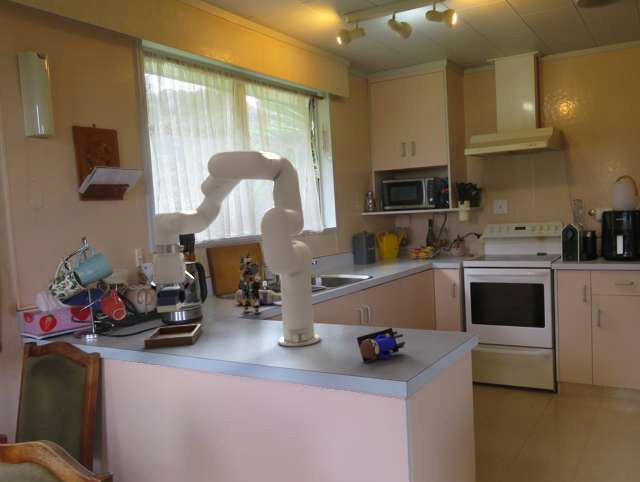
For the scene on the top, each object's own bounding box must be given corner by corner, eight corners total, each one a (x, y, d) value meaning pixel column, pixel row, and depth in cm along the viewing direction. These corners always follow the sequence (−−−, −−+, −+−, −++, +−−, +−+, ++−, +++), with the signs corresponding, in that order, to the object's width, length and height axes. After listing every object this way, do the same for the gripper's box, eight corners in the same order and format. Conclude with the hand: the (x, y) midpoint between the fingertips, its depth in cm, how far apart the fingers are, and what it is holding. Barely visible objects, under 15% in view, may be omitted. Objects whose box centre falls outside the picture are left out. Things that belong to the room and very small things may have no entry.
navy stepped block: (184, 304, 187) (183, 285, 187) (177, 311, 173) (175, 291, 173) (166, 305, 186) (165, 286, 186) (157, 312, 172) (155, 292, 172)
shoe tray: (192, 344, 173) (192, 335, 173) (144, 348, 170) (144, 340, 170) (201, 331, 192) (201, 323, 192) (158, 335, 190) (158, 327, 190)
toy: (271, 313, 221) (267, 252, 219) (253, 317, 215) (249, 254, 213) (251, 310, 231) (247, 252, 229) (233, 313, 224) (229, 254, 223)
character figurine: (410, 355, 147) (369, 368, 137) (391, 349, 152) (350, 361, 142) (410, 327, 146) (368, 339, 136) (391, 322, 151) (350, 333, 141)
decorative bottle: (234, 305, 246) (233, 290, 246) (244, 302, 253) (243, 288, 253) (282, 306, 236) (282, 291, 236) (291, 303, 243) (290, 288, 243)
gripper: (196, 247, 185) (200, 299, 186) (143, 250, 182) (147, 303, 183) (193, 249, 178) (197, 303, 179) (137, 252, 175) (142, 307, 176)
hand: (172, 302), depth 181 cm, fingers closed on navy stepped block, 6 cm apart
